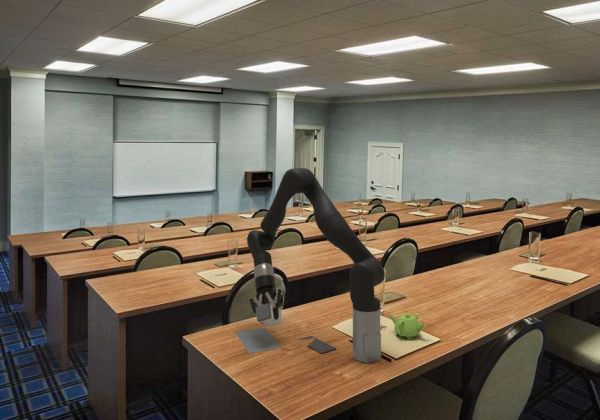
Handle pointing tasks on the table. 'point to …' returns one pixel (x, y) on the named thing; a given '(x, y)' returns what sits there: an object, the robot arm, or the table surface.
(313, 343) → the smartphone
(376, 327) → the robot arm
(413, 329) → the teapot
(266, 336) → the desk mat
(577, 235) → the table surface
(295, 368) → the table surface
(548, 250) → the table surface
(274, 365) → the table surface
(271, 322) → the block
